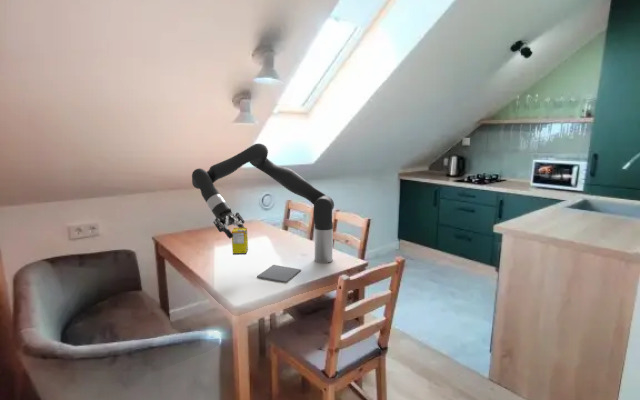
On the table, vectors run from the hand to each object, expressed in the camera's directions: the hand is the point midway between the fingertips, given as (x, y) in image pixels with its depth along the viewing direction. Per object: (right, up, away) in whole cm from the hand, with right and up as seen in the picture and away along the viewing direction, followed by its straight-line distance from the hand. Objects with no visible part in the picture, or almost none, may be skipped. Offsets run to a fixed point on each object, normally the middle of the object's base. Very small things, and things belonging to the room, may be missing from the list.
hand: (238, 235), depth 163 cm
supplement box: (+1, -8, +2) cm, 8 cm away
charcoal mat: (+17, -19, +8) cm, 27 cm away
